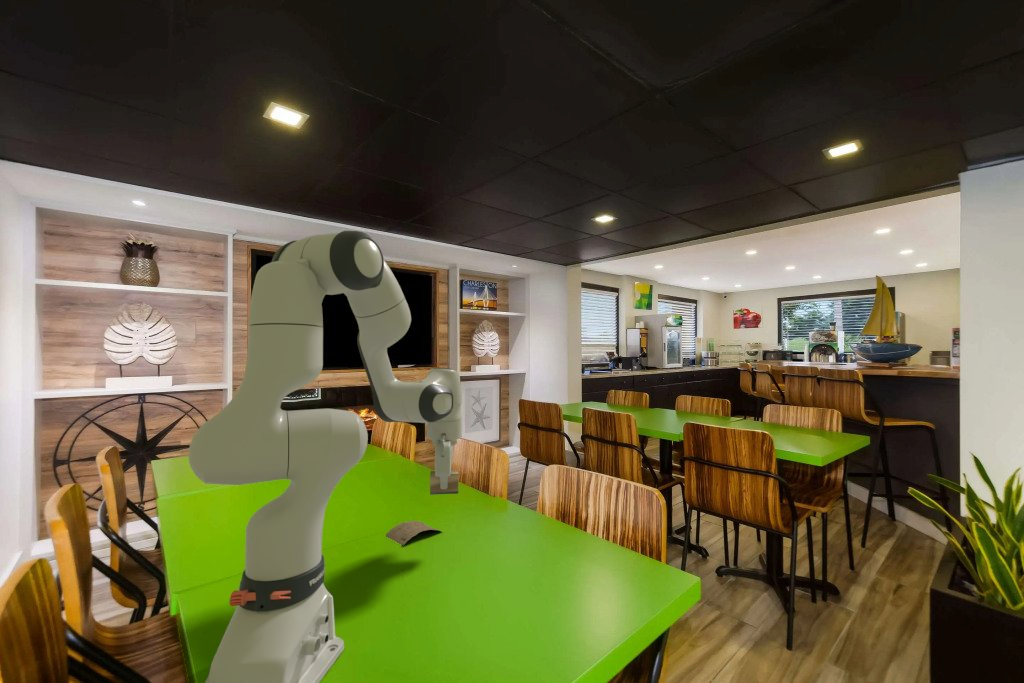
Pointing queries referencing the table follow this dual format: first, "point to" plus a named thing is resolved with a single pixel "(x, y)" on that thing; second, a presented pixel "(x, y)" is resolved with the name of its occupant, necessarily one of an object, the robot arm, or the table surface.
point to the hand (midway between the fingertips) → (444, 485)
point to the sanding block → (451, 484)
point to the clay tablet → (407, 531)
